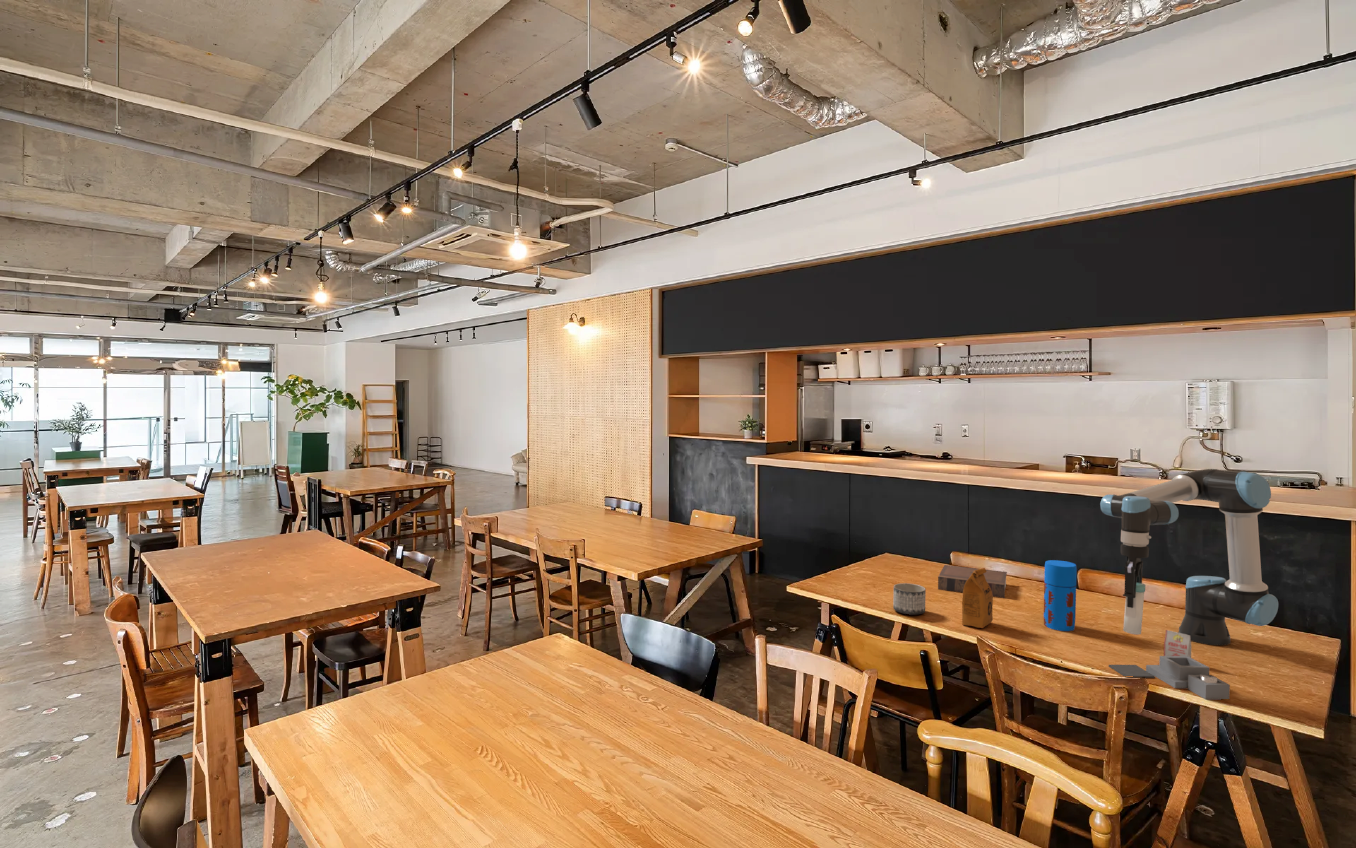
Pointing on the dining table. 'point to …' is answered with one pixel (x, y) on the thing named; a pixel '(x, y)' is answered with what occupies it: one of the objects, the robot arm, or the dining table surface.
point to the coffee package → (977, 601)
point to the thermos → (1060, 595)
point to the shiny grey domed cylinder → (1208, 678)
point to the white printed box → (1177, 644)
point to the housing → (1188, 676)
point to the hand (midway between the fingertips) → (1132, 614)
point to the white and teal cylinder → (1136, 623)
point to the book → (957, 577)
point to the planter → (909, 598)
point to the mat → (1131, 671)
